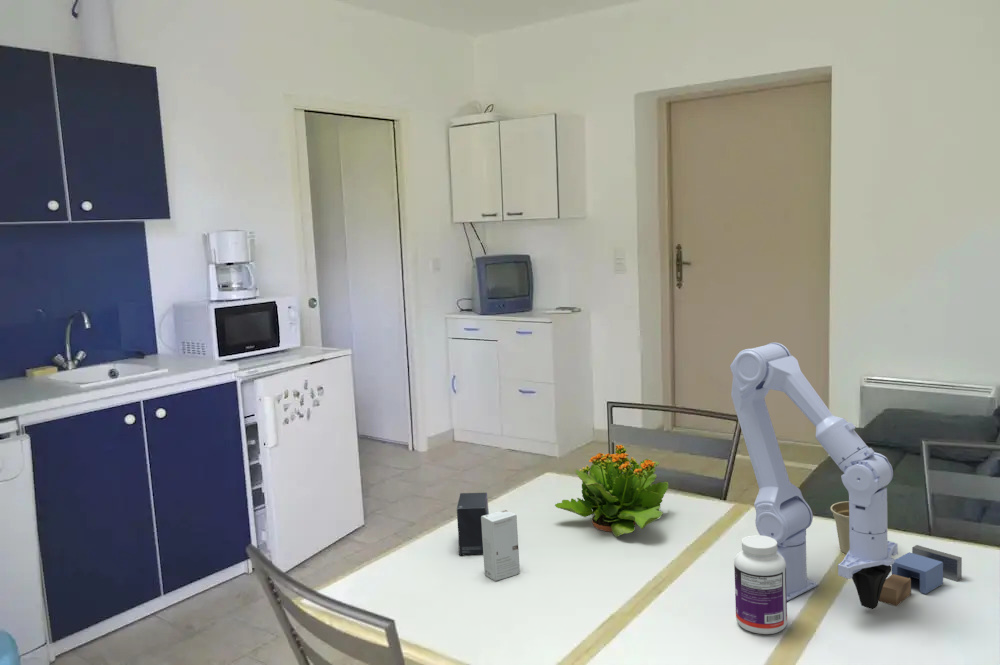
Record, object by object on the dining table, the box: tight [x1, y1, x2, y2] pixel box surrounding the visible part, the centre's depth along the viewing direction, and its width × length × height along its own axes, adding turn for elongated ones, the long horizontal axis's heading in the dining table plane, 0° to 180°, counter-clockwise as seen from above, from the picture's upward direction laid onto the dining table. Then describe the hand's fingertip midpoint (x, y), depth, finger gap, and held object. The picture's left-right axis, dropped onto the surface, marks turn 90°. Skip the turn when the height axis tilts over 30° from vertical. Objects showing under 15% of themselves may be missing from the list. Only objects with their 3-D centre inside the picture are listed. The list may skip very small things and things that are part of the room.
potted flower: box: [554, 444, 669, 538], centre depth 178 cm, size 25×24×18 cm
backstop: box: [911, 544, 963, 582], centre depth 144 cm, size 2×8×4 cm, turn 35°
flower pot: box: [829, 500, 850, 555], centre depth 155 cm, size 9×9×9 cm
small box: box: [456, 492, 490, 556], centre depth 171 cm, size 11×6×10 cm, turn 179°
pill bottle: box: [733, 534, 788, 635], centre depth 129 cm, size 8×8×14 cm
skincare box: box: [481, 509, 521, 582], centre depth 155 cm, size 6×4×12 cm
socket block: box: [891, 552, 944, 595], centre depth 140 cm, size 6×6×4 cm
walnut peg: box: [879, 573, 912, 607], centre depth 136 cm, size 6×3×3 cm, turn 132°
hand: (869, 606), depth 131 cm, fingers closed
